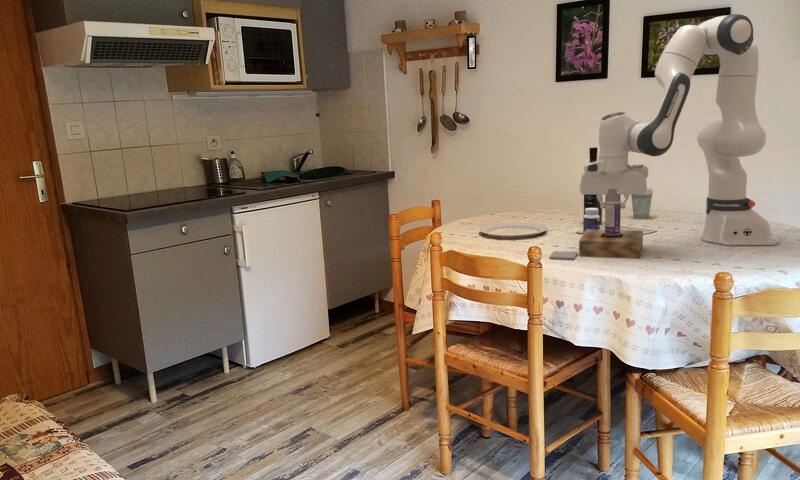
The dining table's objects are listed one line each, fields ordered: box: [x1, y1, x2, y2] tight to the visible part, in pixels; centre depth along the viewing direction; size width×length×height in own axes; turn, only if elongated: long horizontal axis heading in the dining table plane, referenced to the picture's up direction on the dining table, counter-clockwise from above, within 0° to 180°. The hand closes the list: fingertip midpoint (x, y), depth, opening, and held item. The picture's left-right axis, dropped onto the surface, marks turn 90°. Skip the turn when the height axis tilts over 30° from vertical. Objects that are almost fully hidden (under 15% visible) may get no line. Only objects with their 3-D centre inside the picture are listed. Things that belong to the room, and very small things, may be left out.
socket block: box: [578, 229, 644, 259], centre depth 202 cm, size 18×18×5 cm
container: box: [604, 189, 622, 236], centre depth 201 cm, size 5×5×15 cm
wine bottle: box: [583, 147, 603, 225], centre depth 243 cm, size 6×6×30 cm
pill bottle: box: [582, 208, 601, 235], centre depth 225 cm, size 6×6×10 cm
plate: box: [478, 221, 548, 239], centre depth 239 cm, size 26×26×2 cm
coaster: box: [549, 250, 579, 261], centre depth 199 cm, size 8×8×1 cm
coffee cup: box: [630, 186, 654, 220], centre depth 252 cm, size 8×8×12 cm
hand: (612, 208), depth 201 cm, fingers closed on container, 5 cm apart
